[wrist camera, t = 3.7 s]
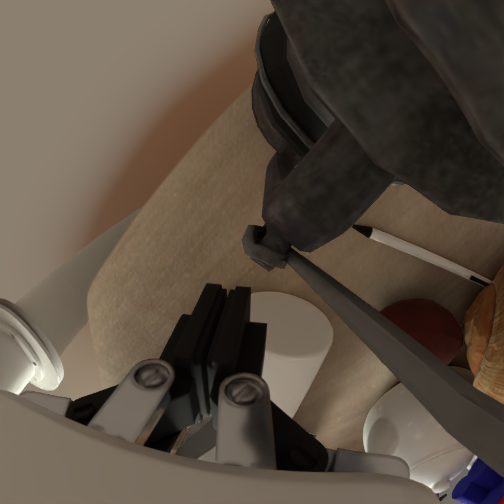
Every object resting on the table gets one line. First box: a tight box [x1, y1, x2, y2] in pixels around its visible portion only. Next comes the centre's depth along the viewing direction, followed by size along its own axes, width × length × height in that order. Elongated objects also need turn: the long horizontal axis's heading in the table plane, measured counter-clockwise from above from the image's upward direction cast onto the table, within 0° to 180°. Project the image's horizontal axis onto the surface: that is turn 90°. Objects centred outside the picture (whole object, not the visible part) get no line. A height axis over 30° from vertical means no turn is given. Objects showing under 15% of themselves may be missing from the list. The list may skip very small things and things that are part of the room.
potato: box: [379, 299, 463, 365], centre depth 22 cm, size 7×10×6 cm
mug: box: [250, 291, 333, 418], centre depth 24 cm, size 12×10×8 cm
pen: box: [352, 224, 493, 287], centre depth 22 cm, size 1×19×1 cm, turn 72°
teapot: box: [363, 366, 477, 494], centre depth 24 cm, size 19×18×14 cm
